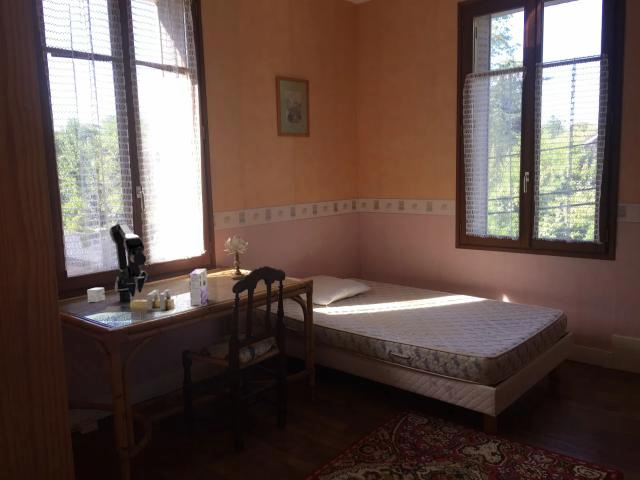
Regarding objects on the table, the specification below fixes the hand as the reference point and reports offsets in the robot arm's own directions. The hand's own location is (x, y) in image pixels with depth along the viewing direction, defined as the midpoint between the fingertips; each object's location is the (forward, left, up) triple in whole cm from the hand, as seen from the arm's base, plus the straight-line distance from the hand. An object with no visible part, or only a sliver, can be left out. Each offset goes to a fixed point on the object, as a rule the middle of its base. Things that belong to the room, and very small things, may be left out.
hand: (136, 294), depth 260 cm
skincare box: (-20, -29, -8) cm, 36 cm away
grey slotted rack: (0, 0, -8) cm, 8 cm away
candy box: (-14, +27, -8) cm, 32 cm away
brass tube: (0, +7, -7) cm, 10 cm away
